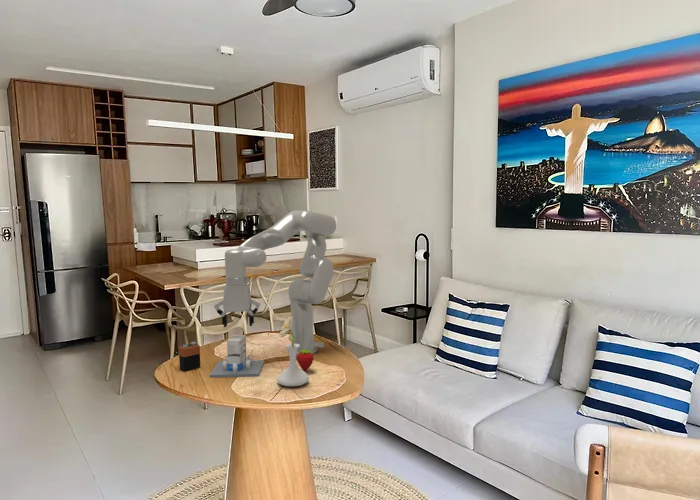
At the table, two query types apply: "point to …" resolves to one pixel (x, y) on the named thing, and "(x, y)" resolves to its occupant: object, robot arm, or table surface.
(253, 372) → the pin tray
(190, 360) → the battery
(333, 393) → the table surface
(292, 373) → the flower in vase
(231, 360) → the ink box
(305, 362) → the strawberry
